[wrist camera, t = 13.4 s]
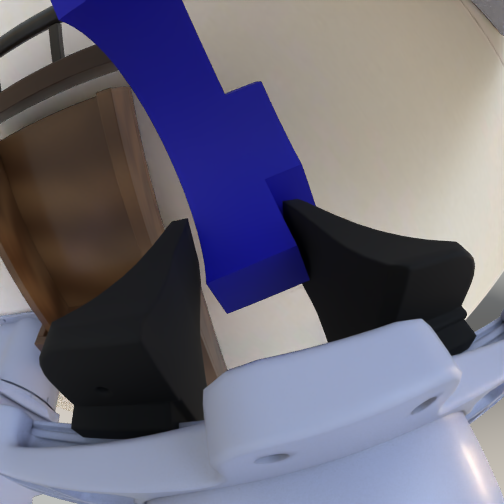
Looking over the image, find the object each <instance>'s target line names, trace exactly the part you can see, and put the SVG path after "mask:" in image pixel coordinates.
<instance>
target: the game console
mask: <svg viewBox="0 0 504 504" xmlns="http://www.w3.org/2000/svg"><path fill="white" fill-rule="evenodd" d="M471 1H472V2H473V3H474V4H475V5H476V6H477V7H478V8H479V9H480V10H481V11H482V12H483V13H484V15H485V16H486V17H487V18H488V19H489V20H490V21H491V22H492V24H493V25H494V26H495V27H496V28H497V30H498V31H499V32H500V33H501V35H503V36H504V0H471Z"/></svg>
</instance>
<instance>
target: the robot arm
mask: <svg viewBox="0 0 504 504" xmlns="http://www.w3.org/2000/svg"><path fill="white" fill-rule="evenodd" d="M282 203H283V219H284V221H285V223H286V225H287V227H288V229H289V231H290V233H291V235H292V237H293V239H294V240H295V242H296V244H297V247H298V249H299V252H300V255H301V257H302V260H303V263H304V265H305V268H306V271H307V274H308V276H309V279H310V280H309V281H306V282H304V283H302V285H303V286H304V288H305V290H306V292H307V294H308V296H309V298H310V300H311V301H312V303H313V305H314V307H315V310H316V312H317V314H318V316H319V319H320V322H321V324H322V327H323V330H324V332H325V335H326V338H327V341H328V343H326V344H322V345H318V346H314V347H311V348H307V349H303V350H299V351H295V352H290V353H286V354H282V355H277V356H273V357H268V358H264V359H259V360H255V361H253V362H250V363H247V364H244V365H241V366H238V367H235V368H232V369H229V370H227V371H225V372H224V373H223V374H222V375H221V376H219V377H218V378H217V379H216V380H215V381H213V382H212V383H211V384H210V385H209V386H207V383H206V376H205V369H204V362H203V354H202V346H201V336H200V305H201V279H200V269H199V261H198V257H197V253H196V250H195V246H194V242H193V238H192V234H191V230H190V226H189V222H188V218H187V219H182V220H177V221H172V222H171V223H170V224H169V226H168V227H167V228H166V229H165V231H164V232H163V233H162V235H161V236H160V237H159V238H158V240H157V241H156V242H155V243H154V245H153V246H152V247H151V248H150V249H149V250H148V251H147V252H146V254H145V255H144V256H143V257H142V258H141V259H140V260H139V261H138V262H137V263H136V264H135V265H134V266H133V267H132V268H131V269H130V270H129V271H128V272H127V273H126V274H125V275H124V276H123V277H121V278H120V279H119V280H118V281H116V282H115V283H114V284H113V285H111V286H110V287H109V288H108V289H106V290H105V291H104V292H102V293H101V294H100V295H98V296H97V297H95V298H94V299H92V300H91V301H89V302H87V303H86V304H84V305H83V306H81V307H79V308H78V309H76V310H74V311H72V312H70V313H69V314H67V315H65V316H63V317H61V318H59V319H57V320H55V321H53V322H52V323H51V326H50V328H49V331H48V334H47V336H46V339H45V342H44V345H43V348H42V350H41V352H40V350H39V349H38V348H37V347H36V346H35V344H34V343H35V341H36V338H37V335H38V333H39V330H40V328H41V326H42V323H41V322H40V321H39V319H38V318H37V316H36V315H35V313H34V312H26V313H19V314H12V315H4V316H0V504H32V498H33V497H35V496H38V495H41V494H45V495H48V496H51V497H55V498H58V499H62V500H65V501H69V502H73V503H77V504H504V498H503V495H502V493H501V490H500V488H499V485H498V483H497V481H496V478H495V476H494V474H493V472H492V469H491V467H490V465H489V463H488V461H487V458H486V456H485V454H484V452H483V450H482V448H481V446H480V444H479V442H478V440H477V438H476V436H475V434H474V432H473V430H472V428H471V426H470V425H469V424H470V423H472V422H473V421H474V420H476V419H477V418H478V417H480V416H481V415H482V414H483V413H485V412H486V411H487V410H489V409H490V408H491V407H492V406H493V405H495V404H496V403H497V402H498V401H499V400H500V399H502V398H503V397H504V309H503V311H502V313H501V316H500V317H499V318H497V319H496V320H494V321H493V322H491V323H489V324H488V325H486V326H484V327H483V328H481V329H479V330H477V331H476V332H474V331H473V330H472V329H471V328H470V326H469V325H468V324H467V322H466V321H465V320H464V319H465V318H466V316H467V312H466V311H465V310H464V308H463V307H462V306H461V305H462V303H463V301H464V299H465V297H466V294H467V292H468V290H469V287H470V285H471V282H472V279H473V276H474V269H475V263H474V259H473V257H472V256H471V254H470V253H469V252H468V251H466V250H465V249H464V248H463V247H462V246H461V245H460V244H459V243H457V242H452V241H438V240H426V239H419V238H411V237H406V236H400V235H396V234H391V233H387V232H383V231H379V230H375V229H372V228H369V227H366V226H362V225H359V224H356V223H354V222H351V221H349V220H346V219H343V218H341V217H339V216H336V215H334V214H332V213H329V212H327V211H325V210H323V209H321V208H319V207H316V206H314V205H312V204H310V203H308V202H305V201H303V200H300V199H293V200H287V201H282ZM59 391H60V392H61V393H62V394H63V395H64V396H65V397H66V398H67V399H68V400H69V401H70V402H71V403H73V404H74V411H73V417H72V424H68V423H58V421H59V414H58V413H56V412H55V409H56V404H57V400H58V395H59Z"/></svg>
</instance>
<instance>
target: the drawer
mask: <svg viewBox="0 0 504 504" xmlns="http://www.w3.org/2000/svg"><path fill="white" fill-rule="evenodd" d="M60 23H62V21H60V20H58V17H57V15H56V12H55V10H54V8H53V6H51V7H49V8H47V9H45V10H43V11H42V12H40V13H38V14H36V15H34V16H33V17H31V18H29V19H28V20H26V21H24V22H23V23H21V24H19V25H18V26H16V27H15V28H13V29H11V30H10V31H8V32H7V33H5V34H4V35H2V36H1V37H0V58H1V57H2V56H4V55H5V54H7V53H8V52H10V51H11V50H13V49H15V48H16V47H18V46H19V45H21V44H23V43H24V42H26V41H28V40H29V39H31V38H33V37H35V36H37V35H38V34H40V33H42V32H44V31H46V30H48V29H49V36H50V46H51V55H52V63H51V64H49V65H47V66H45V67H43V68H41V69H40V70H38V71H36V72H34V73H32V74H30V75H28V76H27V77H25V78H23V79H21V80H20V81H18V82H16V83H15V84H13V85H11V86H10V87H8V88H7V89H5V90H3V91H1V85H0V124H1V123H3V122H4V121H6V120H8V119H9V118H11V117H13V116H14V115H16V114H18V113H20V112H22V111H23V110H25V109H27V108H29V107H31V106H33V105H35V104H37V103H39V102H41V101H43V100H45V99H47V98H49V97H51V96H53V95H56V94H58V93H60V92H62V91H65V90H67V89H69V88H72V87H74V86H77V85H79V84H82V83H84V82H87V81H89V80H92V79H95V78H97V77H100V76H103V75H106V74H109V73H112V72H115V71H118V69H117V67H116V66H115V65H114V64H113V62H112V61H111V60H110V59H109V58H108V57H107V55H106V54H105V53H104V52H103V51H102V50H101V49H100V48H99V47H98V46H97V45H93V46H90V47H88V48H85V49H83V50H80V51H78V52H76V53H73V54H71V55H69V56H66V57H65V55H64V47H63V38H62V27H61V24H60ZM96 95H97V96H96V97H93V98H91V99H88V100H85V101H83V102H80V103H77V104H75V105H72V106H70V107H68V108H65V109H63V110H60V111H58V112H56V113H54V114H51V115H49V116H47V117H45V118H43V119H41V120H38V121H36V122H34V123H32V124H30V125H28V126H26V127H24V128H23V129H21V130H19V131H17V132H15V133H13V134H11V135H10V136H8V137H6V138H4V139H3V140H1V141H0V256H1V258H2V260H3V262H4V264H5V266H6V268H7V270H8V271H9V273H10V275H11V277H12V278H13V280H14V282H15V283H16V285H17V287H18V288H19V290H20V292H21V293H22V295H23V297H24V298H25V300H26V301H27V303H28V304H29V306H30V307H31V309H32V310H33V312H34V313H35V315H36V316H37V318H38V319H39V321H40V322H41V323H42V325H43V326H44V328H45V329H46V330H47V332H48V331H49V328H50V326H51V323H52V322H53V321H55V320H57V319H59V318H61V317H63V316H65V315H67V314H69V313H70V312H72V311H74V310H76V309H78V308H79V307H81V306H83V305H84V304H86V303H87V302H89V301H91V300H92V299H94V298H95V297H97V296H98V295H100V294H101V293H102V292H104V291H105V290H106V289H108V288H109V287H110V286H111V285H113V284H114V283H115V282H116V281H118V280H119V279H120V278H121V277H123V276H124V275H125V274H126V273H127V272H128V271H129V270H130V269H131V268H132V267H133V266H134V265H135V264H136V263H137V262H138V261H139V260H140V259H141V258H142V257H143V256H144V255H145V254H146V252H147V251H148V250H149V249H150V248H151V247H152V246H153V245H154V243H155V242H156V241H157V240H158V238H159V237H160V236H161V235H162V233H163V232H164V231H165V230H164V226H163V223H162V219H161V216H160V212H159V209H158V205H157V202H156V198H155V194H154V190H153V187H152V183H151V179H150V175H149V171H148V167H147V163H146V159H145V154H144V150H143V146H142V141H141V137H140V132H139V128H138V123H137V118H136V113H135V108H134V103H133V98H132V92H131V87H130V86H127V87H115V88H108V89H106V90H103V91H100V92H97V93H96Z"/></svg>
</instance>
